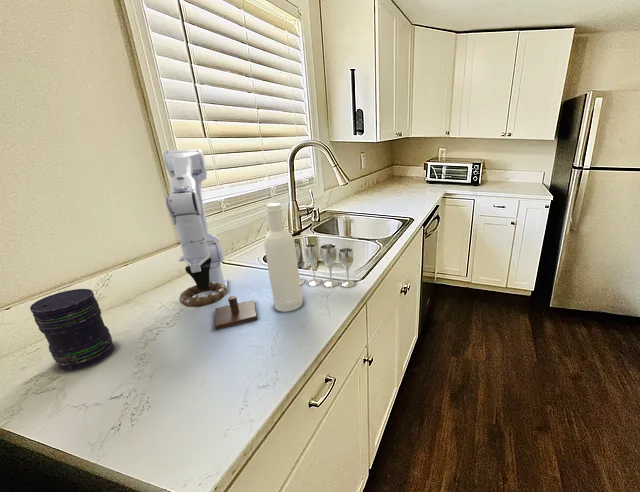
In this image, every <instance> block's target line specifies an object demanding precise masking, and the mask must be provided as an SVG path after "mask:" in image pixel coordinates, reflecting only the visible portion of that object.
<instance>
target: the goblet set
mask: <svg viewBox="0 0 640 492" xmlns="http://www.w3.org/2000/svg"><path fill="white" fill-rule="evenodd" d="M304 249H305V250H304V251H305V257H306V260H307V261H308V263H309V264H310V266H311V269H312V274H313V280H311V281H309V282H308V284H309V285H310V286H319V285H321V283H322V281H321V280H319V279H316V274H315V268H316V267H315V266H316V262H317V260H318V248H317V245H316V244H315V243H308V244H306V245H305V248H304ZM295 250H296V257H297V264H298V265H299V262H300V258H301V249H300V246H299V244H297V243H295ZM319 254H320V258H321V261H322V262H323V264H325V266H326V267H327V268H328V271H329V277H330V278H329V279H330V280H327V281H325V282H324V286H326V287H329V288H330V287H336V286H338V285H339V284H340V283H339V280H336V279H333V275H332V268H333V265H335V262H336V260H337V258H338V261H339V263H340V264H341V265H342V267H343V268H344V270H345V272H346V281H343V282H342V283H341V286H342V287H344V288H351V287H354V286H355V285H356V282H355V281H354V280H350V277H349V273H350V272H349V270H350V268H351V266H352V264H353V262H354V250H353V248H349V247H344V248H340V249H339V250H337V246H336V245H335V244H333V243H327V244H326V243H325V244H322V245H321V246H320V248H319ZM337 256H338V257H337ZM305 282H306V281H305V279H300V285H303V284H304V283H305Z"/></svg>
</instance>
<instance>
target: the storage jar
mask: <svg viewBox="0 0 640 492" xmlns="http://www.w3.org/2000/svg"><path fill="white" fill-rule="evenodd" d="M29 310H30V312H31V313H32V316H33V319H34V322H35V324H36V325H37V327H38V330H39V331H40V332H41V333H42V334H43V335H44V337H45V339H46V341H47V343H48V352H49V353H50V355H51V357H52V359H53V361H55V363H56V364H57V366H58V369H59V370H60V371H62V372H75V371H79V370H83V369H87V368H89V367H92V366H95V365H96V364H98V363H101V362H103V361H105V360H106V359H107V358H108V357H110V356H111V355H113V353H114V352H115V351H116V350H115V349H116V347H115V344H114V343H113V337H112V335H111V332H110V329H109V328H108V326H107V325H105V323H104V320H103V317H102V309H101V308H100V305H99V302H98V300H97V299H96V297H95V294H94V291H93V290H92V289H89V288H77V289H76V288H75V289H70V290H64V291H61V292H57V293H54V294H51V295H47V296H45V297H43V298H40V299H38V300H36V301H34V302H33V303H32V304H31V305H30V307H29Z"/></svg>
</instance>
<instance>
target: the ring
mask: <svg viewBox="0 0 640 492" xmlns="http://www.w3.org/2000/svg"><path fill="white" fill-rule="evenodd" d="M207 291H216V292H214V293H212V294H210V295H207V296H203V297H198V294H199V293H202V292H207ZM227 294H228V286H227V287H226V285H224V284H221V283H219V282H209V289H205V290H200V289H199V288H198V286H197V284H195V285H193V286H190V287H188V288H186V289H185V290H184V291H182V292H181V293H180V295H179V299H178V301H179V303H180V304H181V305H183V306H185V307H186V308H201V307H202V308H203V307H207V306H210V305H213V304H215V303H217V302H220V301H221V300H222V299H224V297H226V296H227ZM194 296H195V297H194Z"/></svg>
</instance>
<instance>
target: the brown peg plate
mask: <svg viewBox="0 0 640 492" xmlns="http://www.w3.org/2000/svg"><path fill="white" fill-rule="evenodd" d="M227 300H228V304H229V305H223V306H219V307H215V308H214V329H215V330H217V331H218V330H221V329H224V328H229V327H233V326H237V325H241V324H246V323H249V322H254V321H258V317H257V311H256V305H255V300H254V299H252V300H251V299H250V300H247V301H242V302H238V298H237V296H236V295H230V296H228V298H227Z"/></svg>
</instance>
